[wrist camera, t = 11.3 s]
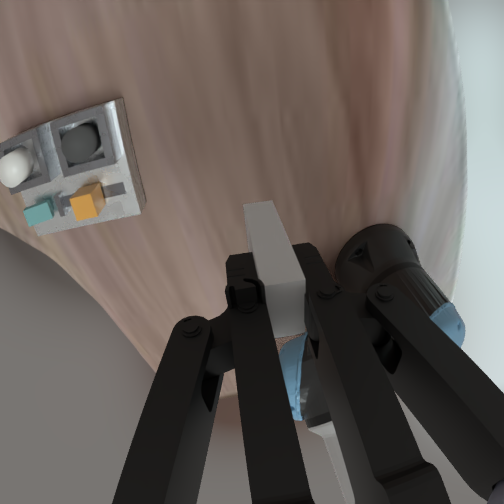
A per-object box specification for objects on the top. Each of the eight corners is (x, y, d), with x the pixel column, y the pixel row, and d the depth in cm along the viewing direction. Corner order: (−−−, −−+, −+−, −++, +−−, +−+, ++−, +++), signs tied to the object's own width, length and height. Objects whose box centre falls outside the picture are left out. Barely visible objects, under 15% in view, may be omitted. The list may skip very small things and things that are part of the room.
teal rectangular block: (54, 214, 37) (52, 218, 36) (31, 223, 36) (29, 226, 35) (49, 198, 35) (47, 202, 34) (25, 207, 34) (23, 211, 33)
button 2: (104, 150, 33) (96, 158, 30) (75, 158, 33) (66, 166, 30) (97, 118, 31) (88, 123, 28) (68, 128, 30) (57, 133, 28)
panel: (146, 201, 42) (136, 225, 37) (48, 223, 42) (29, 247, 36) (122, 97, 34) (105, 104, 28) (19, 133, 34) (-7, 146, 28)
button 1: (37, 173, 31) (26, 182, 28) (15, 181, 31) (3, 191, 28) (29, 143, 29) (16, 150, 26) (6, 153, 28) (-7, 160, 26)
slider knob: (105, 204, 37) (97, 216, 34) (86, 208, 37) (77, 221, 34) (99, 182, 36) (90, 193, 33) (79, 187, 35) (69, 198, 33)
